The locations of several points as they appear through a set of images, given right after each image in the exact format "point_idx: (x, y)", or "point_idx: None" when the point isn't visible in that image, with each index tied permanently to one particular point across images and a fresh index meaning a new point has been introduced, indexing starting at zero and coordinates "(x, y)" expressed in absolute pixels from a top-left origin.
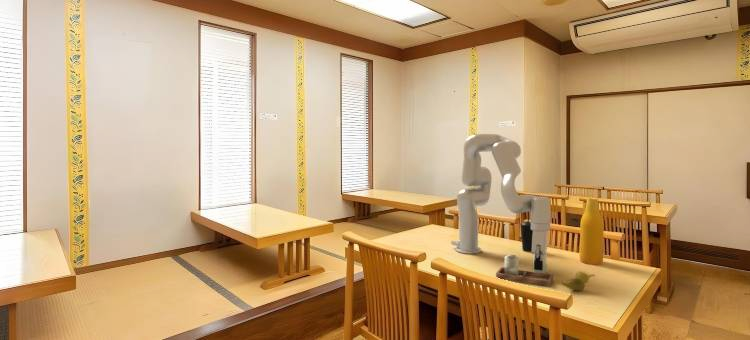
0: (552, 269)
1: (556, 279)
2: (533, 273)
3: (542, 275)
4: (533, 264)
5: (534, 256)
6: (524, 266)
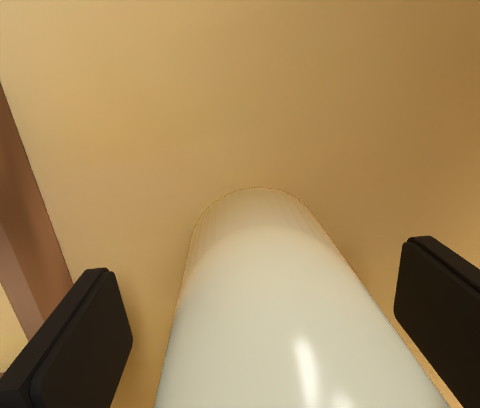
0: (386, 317)
1: (131, 388)
2: (6, 268)
3: None
4: (219, 238)
5: (179, 381)
6: (380, 46)
